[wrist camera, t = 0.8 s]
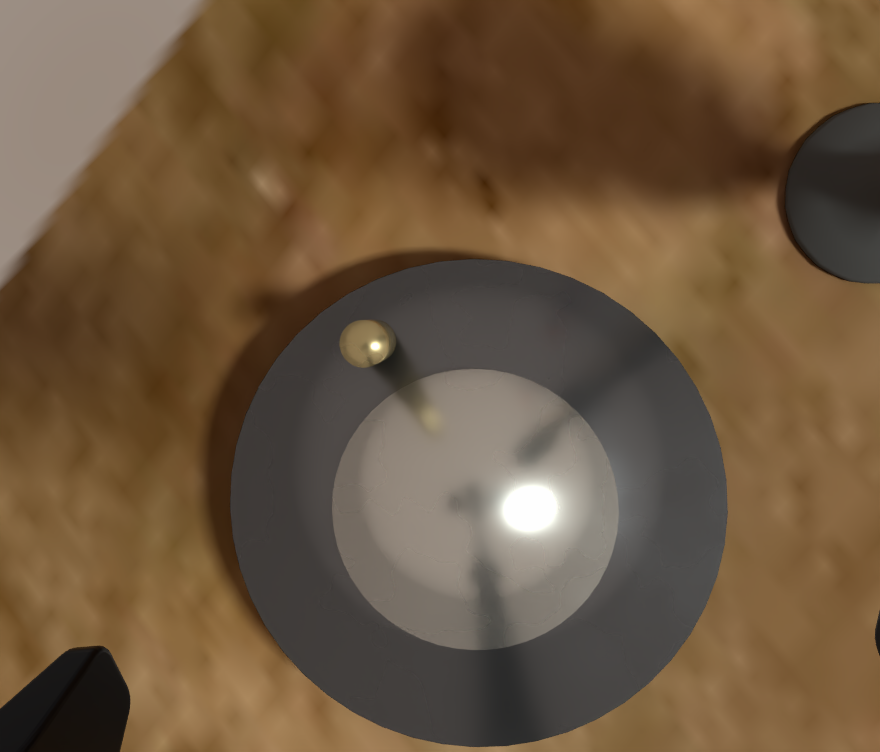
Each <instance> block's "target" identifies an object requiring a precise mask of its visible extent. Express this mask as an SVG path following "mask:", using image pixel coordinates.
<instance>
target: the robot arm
mask: <svg viewBox="0 0 880 752" xmlns="http://www.w3.org/2000/svg"><path fill="white" fill-rule="evenodd" d="M875 640H876V646H877V650H878V653H879V655H880V611H879V616H878V620H877V625H876V629H875ZM129 710H130V694H129V690H128V687H127V685H126V683H125V681H124V679H123V677H122V675H121V673H120V671H119V669H118V667H117V665H116V663H115V661H114V659H113V657H112V655H111V653H110V652H109V650H108V649H106V648H105V647H103V646H89V647H77V648H72V649H69V650H68V651H66V652H65V653H63V654H62V655H61V656H60V657H58V658H57V659H56V660H55V661H54V662H53V663H52V664H50V665H49V666H48V667H47V668H46V669H45V670H44V671H43V672H41V673H40V674H39V675H38V676H37V677H36V678H35V679H33V680H32V681H31V682H30V683H29V684H28V685H27V686H25V687H24V688H23V689H22V690H21V691H20V692H19V693H18V694H16V695H15V696H14V697H13V698H12V699H11V700H10V701H8V702H7V703H6V704H5V705H4V706H3V707H2V708H1V709H0V752H120V749H121V745H122V741H123V737H124V732H125V728H126V724H127V719H128V715H129Z"/></svg>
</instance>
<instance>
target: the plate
mask: <svg viewBox="0 0 880 752" xmlns="http://www.w3.org/2000/svg"><path fill="white" fill-rule="evenodd" d="M230 511H231V522H232V532H233V540H234V544H235V549H236V553H237V558H238V562H239V566H240V570H241V573H242V575H243V578H244V581H245V584H246V586H247V589H248V592H249V594H250V597H251V599H252V601H253V603H254V605H255V607H256V609H257V611H258V613H259V615H260V617H261V619H262V620H263V622H264V624H265V626H266V628H267V629H268V630H269V632H270V633H271V635H272V636H273V638H274V639H275V640H276V642H277V643H278V645H279V646H280V648H281V649H282V651H283V652H284V653H285V654H286V655H287V656H288V657H289V659H290V660H291V661H292V662H293V663H294V664H295V665H296V666H297V667H298V669H299V670H300V671H301V672H302V673H303V674H304V675H305V676H306V677H307V678H308V679H310V680H311V681H312V682H313V683H314V684H315V685H317V686H318V687H319V688H320V689H321V690H322V691H324V692H325V693H326V694H327V695H328V696H330V697H331V698H333V699H334V700H336V701H337V702H339V703H340V704H342V705H343V706H345V707H346V708H348V709H349V710H351V711H352V712H354V713H356V714H358V715H360V716H362V717H364V718H366V719H368V720H370V721H372V722H374V723H376V724H378V725H380V726H382V727H384V728H387V729H390V730H393V731H396V732H398V733H401V734H404V735H407V736H410V737H413V738H417V739H422V740H427V741H431V742H436V743H440V744H448V745H458V746H469V747H488V746H509V745H515V744H521V743H527V742H534V741H539V740H542V739H546V738H549V737H552V736H556V735H559V734H563V733H566V732H569V731H571V730H573V729H576V728H578V727H580V726H583V725H585V724H587V723H589V722H592V721H594V720H596V719H598V718H600V717H601V716H603V715H605V714H606V713H608V712H610V711H611V710H613V709H615V708H616V707H618V706H620V705H621V704H623V703H625V702H626V701H627V700H628V699H630V698H631V697H632V696H633V695H635V694H636V693H637V692H638V691H640V690H641V689H642V688H643V687H645V686H646V685H647V684H649V683H650V682H651V680H652V679H653V678H654V677H655V676H656V675H657V674H658V673H659V672H660V671H661V670H662V669H663V668H664V667H665V666H666V665H667V664H668V663H669V662H670V661H671V660H672V658H673V657H674V656H675V654H676V653H677V652H678V650H679V649H680V647H681V646H682V645H683V643H684V642H685V641H686V639H687V638H688V637H689V635H690V634H691V632H692V630H693V628H694V626H695V625H696V623H697V621H698V619H699V617H700V616H701V614H702V612H703V610H704V608H705V606H706V604H707V601H708V599H709V596H710V593H711V591H712V588H713V586H714V583H715V581H716V578H717V575H718V570H719V566H720V562H721V558H722V553H723V549H724V545H725V535H726V524H727V514H728V510H727V485H726V476H725V470H724V464H723V459H722V453H721V448H720V445H719V441H718V438H717V435H716V432H715V429H714V426H713V423H712V420H711V417H710V414H709V412H708V410H707V408H706V406H705V404H704V402H703V400H702V398H701V396H700V394H699V392H698V389H697V387H696V386H695V384H694V383H693V381H692V380H691V378H690V377H689V375H688V374H687V372H686V370H685V369H684V367H683V366H682V364H681V363H680V361H679V360H678V358H677V357H676V356H675V355H674V354H673V353H672V352H671V350H670V349H669V348H668V347H667V346H666V345H665V344H664V342H663V341H662V340H661V339H660V338H659V337H658V336H657V334H656V333H655V332H653V331H652V330H651V329H650V328H649V327H648V326H647V325H645V324H644V323H643V322H642V321H641V320H640V319H639V318H637V317H636V316H635V315H634V314H633V313H632V312H631V311H629V310H628V309H626V308H625V307H623V306H622V305H620V304H619V303H617V302H616V301H614V300H613V299H611V298H610V297H608V296H607V295H605V294H604V293H602V292H600V291H598V290H596V289H594V288H592V287H590V286H588V285H586V284H584V283H581V282H579V281H577V280H575V279H573V278H571V277H568V276H565V275H562V274H559V273H556V272H553V271H550V270H547V269H544V268H541V267H536V266H531V265H525V264H520V263H515V262H510V261H499V260H481V259H468V260H455V261H441V262H436V263H431V264H426V265H422V266H417V267H412V268H408V269H405V270H402V271H399V272H396V273H393V274H391V275H388V276H385V277H382V278H379V279H377V280H375V281H373V282H371V283H369V284H367V285H365V286H363V287H361V288H359V289H357V290H355V291H353V292H351V293H349V294H347V295H346V296H344V297H343V298H341V299H340V300H339V301H337V302H336V303H334V304H333V305H331V306H330V307H328V308H327V309H326V310H324V311H323V312H321V313H320V314H319V315H318V316H317V317H316V318H315V319H313V320H312V321H311V322H310V323H309V324H308V325H307V326H306V327H305V328H304V329H302V330H301V331H300V332H299V333H298V334H297V335H296V336H295V337H294V339H293V340H292V341H291V342H290V343H289V345H288V346H287V347H286V348H285V349H284V350H283V352H282V353H281V354H280V355H279V356H278V358H277V359H276V360H275V362H274V363H273V365H272V367H271V368H270V370H269V371H268V373H267V374H266V376H265V378H264V379H263V381H262V382H261V384H260V385H259V387H258V390H257V392H256V394H255V396H254V398H253V400H252V403H251V405H250V407H249V409H248V411H247V413H246V416H245V419H244V422H243V426H242V429H241V432H240V435H239V439H238V442H237V445H236V451H235V457H234V463H233V469H232V475H231V497H230Z"/></svg>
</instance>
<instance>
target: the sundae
mask: <svg viewBox="0 0 880 752" xmlns="http://www.w3.org/2000/svg"><path fill="white" fill-rule="evenodd" d="M785 208H786V212H787V217H788V221H789V225H790V227H791V230H792V232H793V235H794V238H795V240H796V241H797V243H798V244H799V245H800V247H801V248H802V249H803V251H804V252H805V253H806V255H807V256H808V257H809V258H810V259H811V260H812V261H813V262H814V263H815V264H816V265H817V266H819V267H820V268H822V269H824V270H826V271H827V272H829V273H831V274H833V275H835V276H837V277H840V278H842V279H845V280H847V281H851V282H860V283H880V103H868V104H864V105H861V106H857V107H854V108H850V109H848V110H846V111H843V112H841V113H839V114H836V115H834V116H833V117H831V118H830V119H829V120H827V121H826V122H825V123H823V124H822V125H821V126H819V127H818V128H817V129H816V130H815V131H814V132H813V133H812V134H811V135H810V136H809V137H808V138H807V139H806V140H805V142H804V143H803V145H802V147H801V148H800V150H799V152H798V153H797V155H796V157H795V159H794V161H793V164H792V166H791V168H790V170H789V173H788V179H787V185H786V199H785Z"/></svg>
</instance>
